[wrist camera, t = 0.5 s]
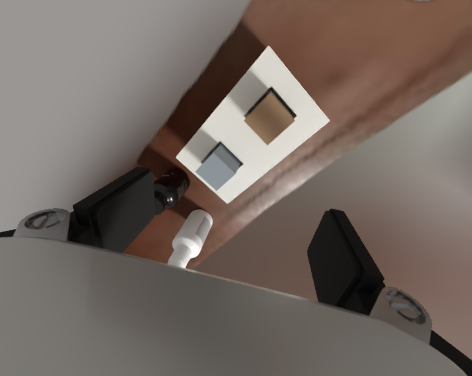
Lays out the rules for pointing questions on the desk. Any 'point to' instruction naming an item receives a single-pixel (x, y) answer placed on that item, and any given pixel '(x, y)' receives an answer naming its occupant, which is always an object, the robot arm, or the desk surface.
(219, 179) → the slate peg
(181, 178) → the supplement bottle
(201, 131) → the peg board
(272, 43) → the desk surface
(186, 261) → the spray bottle
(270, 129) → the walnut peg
